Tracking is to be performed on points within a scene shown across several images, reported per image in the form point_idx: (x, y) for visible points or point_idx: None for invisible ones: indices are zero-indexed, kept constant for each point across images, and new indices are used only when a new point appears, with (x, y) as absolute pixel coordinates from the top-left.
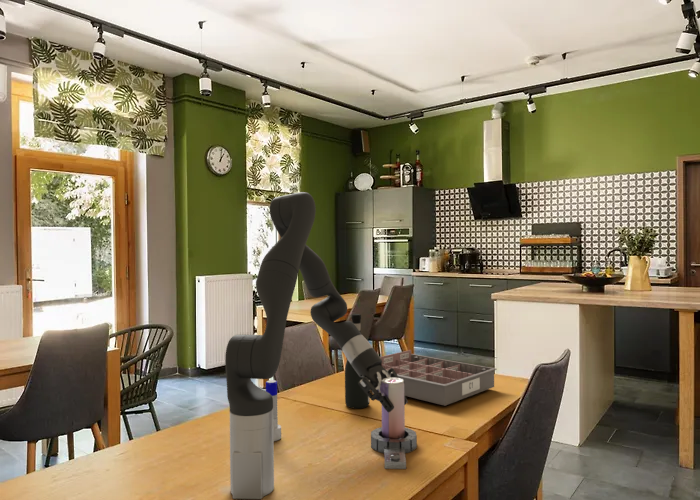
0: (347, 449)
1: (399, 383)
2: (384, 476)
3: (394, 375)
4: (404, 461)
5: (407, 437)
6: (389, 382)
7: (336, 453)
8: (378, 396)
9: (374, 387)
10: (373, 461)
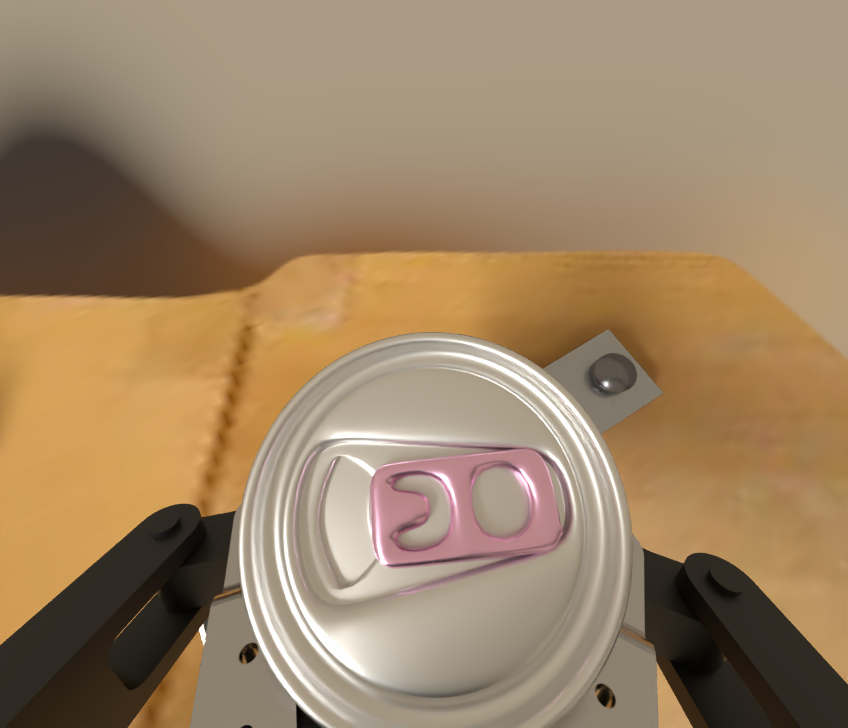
0: None
1: (488, 350)
2: (695, 368)
3: (9, 720)
4: (608, 335)
5: None
6: (556, 507)
7: None
8: (681, 563)
9: (785, 700)
10: (625, 469)
